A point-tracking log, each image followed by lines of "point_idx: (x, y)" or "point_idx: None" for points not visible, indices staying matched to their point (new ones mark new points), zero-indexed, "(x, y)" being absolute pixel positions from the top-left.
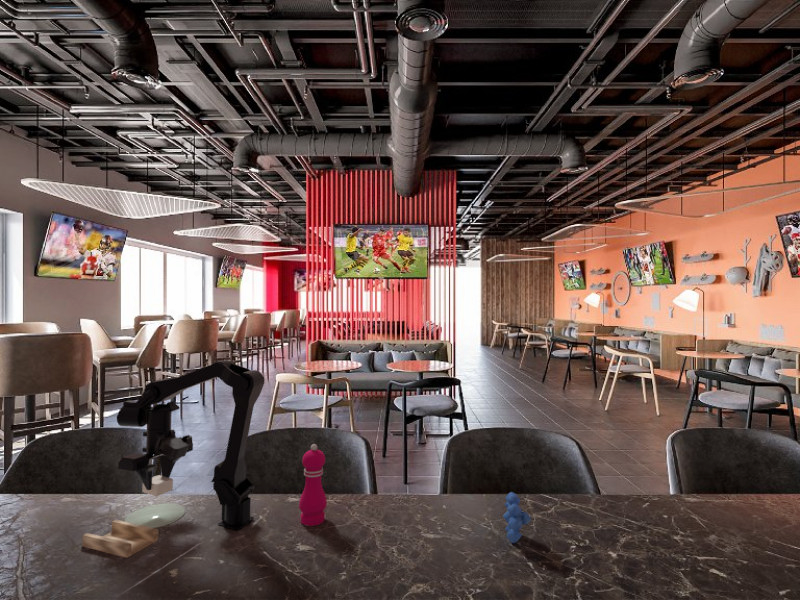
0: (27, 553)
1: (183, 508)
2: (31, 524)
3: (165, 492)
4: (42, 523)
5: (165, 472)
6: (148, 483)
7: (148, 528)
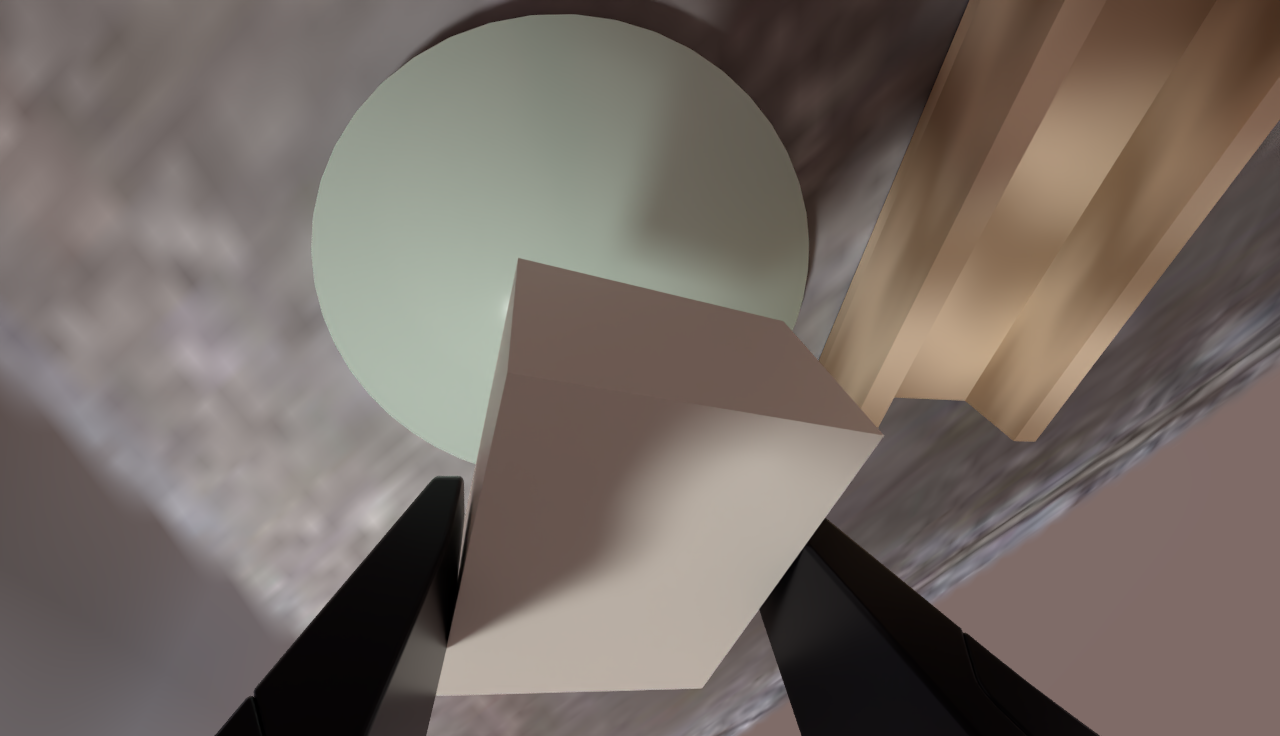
0: (975, 536)
1: (362, 135)
2: (745, 688)
3: (650, 292)
4: (734, 673)
5: (416, 687)
6: (871, 561)
7: (1074, 28)
